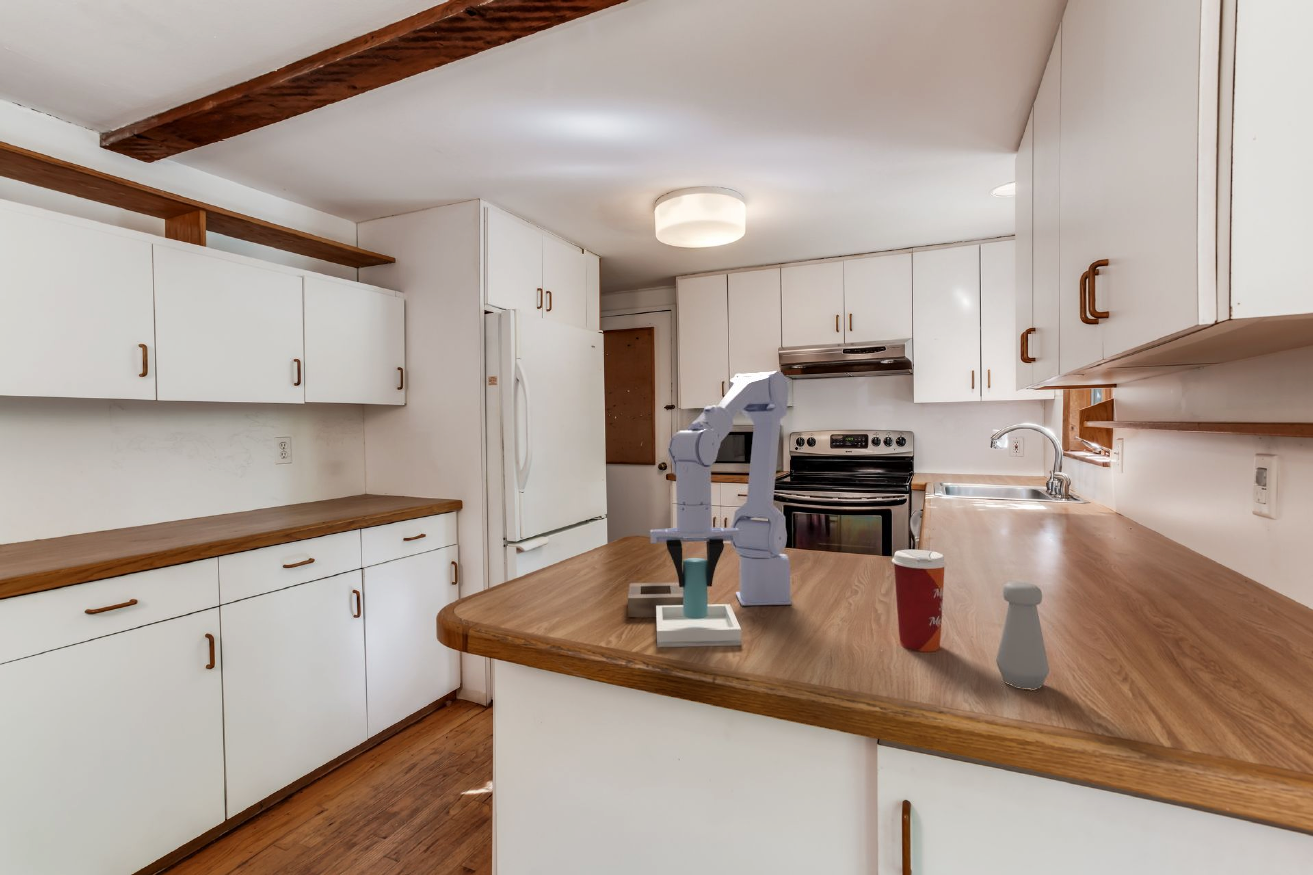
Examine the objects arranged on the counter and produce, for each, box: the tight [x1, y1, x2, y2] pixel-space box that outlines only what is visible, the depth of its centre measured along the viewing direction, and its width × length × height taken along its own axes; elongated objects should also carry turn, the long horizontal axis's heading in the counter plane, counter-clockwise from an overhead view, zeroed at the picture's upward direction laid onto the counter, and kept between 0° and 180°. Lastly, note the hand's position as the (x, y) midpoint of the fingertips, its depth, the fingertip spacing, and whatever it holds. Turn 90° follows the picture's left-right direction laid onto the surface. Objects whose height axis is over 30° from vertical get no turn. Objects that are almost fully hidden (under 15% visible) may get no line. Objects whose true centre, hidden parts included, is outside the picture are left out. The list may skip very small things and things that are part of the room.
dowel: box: [682, 557, 709, 619], centre depth 99 cm, size 4×4×9 cm
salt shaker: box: [995, 581, 1050, 689], centre depth 77 cm, size 6×6×13 cm
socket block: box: [627, 581, 683, 618], centre depth 112 cm, size 10×10×4 cm
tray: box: [655, 603, 742, 648], centre depth 99 cm, size 13×13×2 cm
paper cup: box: [891, 549, 948, 653], centre depth 91 cm, size 8×8×14 cm
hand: (695, 585), depth 99 cm, fingers closed on dowel, 4 cm apart
